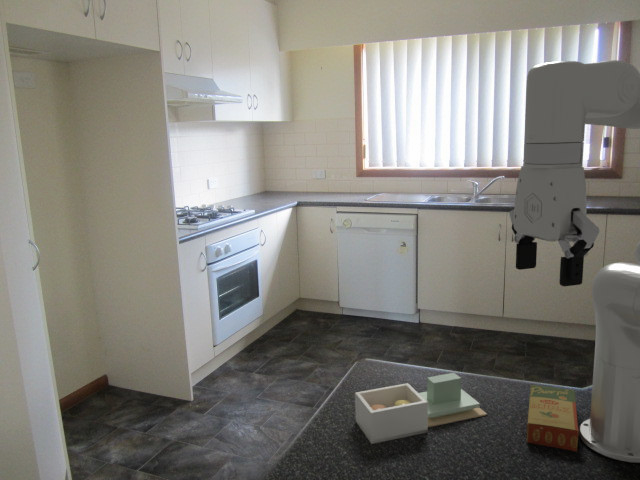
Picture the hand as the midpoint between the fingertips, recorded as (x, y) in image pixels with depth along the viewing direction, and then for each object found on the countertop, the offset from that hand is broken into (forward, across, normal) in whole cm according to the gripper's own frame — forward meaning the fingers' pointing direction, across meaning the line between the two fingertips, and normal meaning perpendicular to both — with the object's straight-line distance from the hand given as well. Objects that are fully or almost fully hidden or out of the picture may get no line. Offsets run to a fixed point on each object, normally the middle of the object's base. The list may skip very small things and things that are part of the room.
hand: (546, 276), depth 76 cm
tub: (+33, -21, -16) cm, 42 cm away
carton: (+34, -13, +13) cm, 38 cm away
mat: (+33, -24, -3) cm, 41 cm away
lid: (+32, -24, -3) cm, 40 cm away
